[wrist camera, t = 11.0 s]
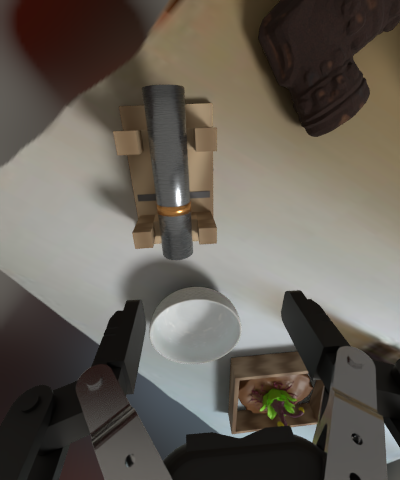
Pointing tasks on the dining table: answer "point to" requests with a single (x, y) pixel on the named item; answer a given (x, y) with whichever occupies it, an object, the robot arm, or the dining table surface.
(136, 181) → the cradle board
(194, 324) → the cereal bowl
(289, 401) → the plant
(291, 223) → the dining table surface
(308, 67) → the dark brown boot
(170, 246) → the tube
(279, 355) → the planter box
